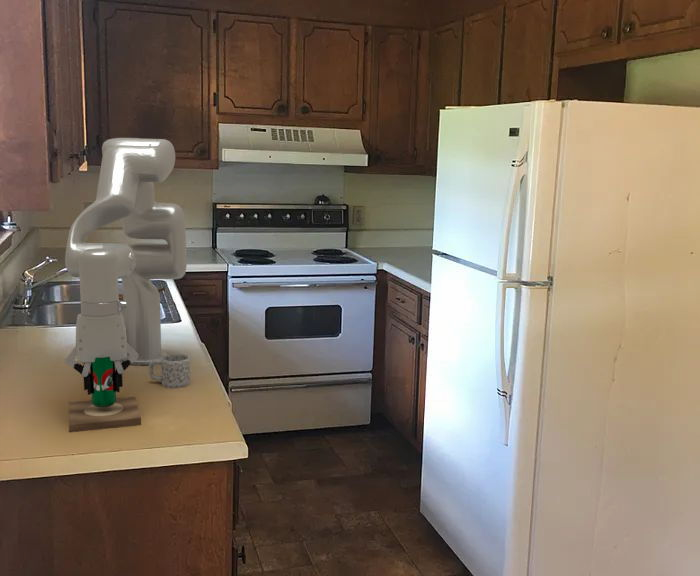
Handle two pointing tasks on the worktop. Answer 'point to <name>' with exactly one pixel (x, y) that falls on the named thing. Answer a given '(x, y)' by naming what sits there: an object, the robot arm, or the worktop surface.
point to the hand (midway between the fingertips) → (103, 390)
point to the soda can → (103, 382)
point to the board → (103, 415)
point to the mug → (172, 370)
